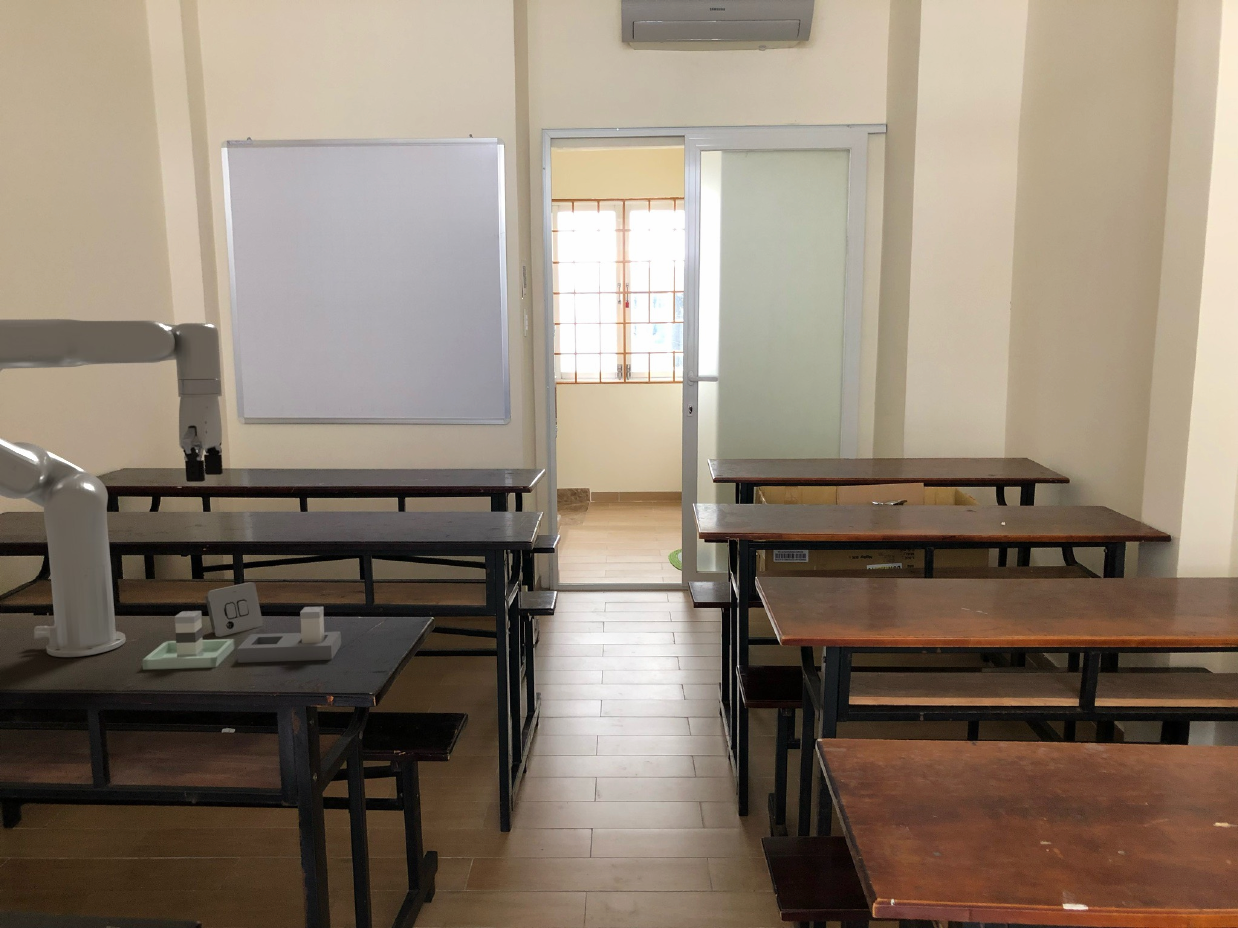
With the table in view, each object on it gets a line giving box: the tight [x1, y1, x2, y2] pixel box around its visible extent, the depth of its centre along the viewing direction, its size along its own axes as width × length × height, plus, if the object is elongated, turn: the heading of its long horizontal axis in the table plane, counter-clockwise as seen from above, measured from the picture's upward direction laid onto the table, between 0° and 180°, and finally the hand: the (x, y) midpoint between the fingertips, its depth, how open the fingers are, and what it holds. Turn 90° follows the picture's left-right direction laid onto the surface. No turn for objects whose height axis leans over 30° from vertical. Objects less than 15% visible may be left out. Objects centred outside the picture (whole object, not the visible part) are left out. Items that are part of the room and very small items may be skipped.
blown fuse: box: [174, 610, 204, 657], centre depth 158 cm, size 3×3×8 cm
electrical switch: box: [205, 581, 264, 638], centre depth 175 cm, size 9×5×9 cm, turn 141°
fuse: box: [299, 606, 325, 643], centre depth 161 cm, size 3×3×8 cm
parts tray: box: [142, 638, 235, 671], centre depth 158 cm, size 12×10×2 cm
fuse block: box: [236, 631, 342, 664], centre depth 161 cm, size 16×8×3 cm, turn 96°
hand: (205, 477), depth 172 cm, fingers open, 9 cm apart
